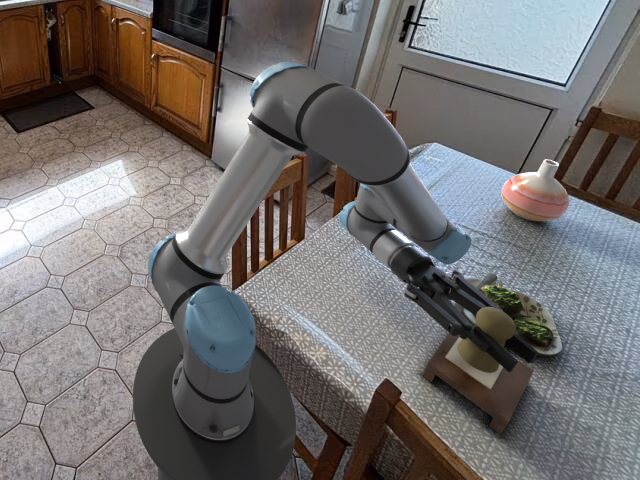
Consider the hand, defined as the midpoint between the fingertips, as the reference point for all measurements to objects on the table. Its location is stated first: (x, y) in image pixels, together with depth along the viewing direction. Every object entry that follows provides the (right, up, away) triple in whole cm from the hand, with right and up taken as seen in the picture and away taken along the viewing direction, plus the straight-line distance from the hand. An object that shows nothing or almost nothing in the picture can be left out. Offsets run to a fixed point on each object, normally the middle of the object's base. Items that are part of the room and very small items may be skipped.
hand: (523, 362), depth 69 cm
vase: (+48, +11, +49) cm, 70 cm away
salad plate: (+15, -4, +20) cm, 26 cm away
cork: (-1, -4, +8) cm, 9 cm away
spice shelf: (-1, -9, +9) cm, 13 cm away
